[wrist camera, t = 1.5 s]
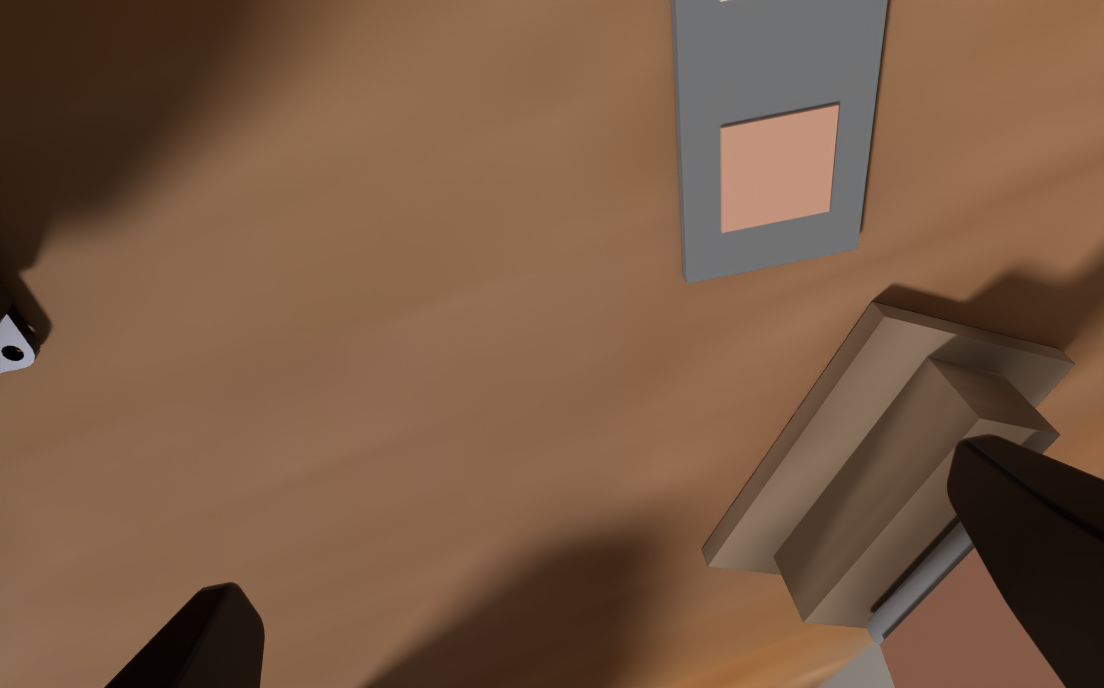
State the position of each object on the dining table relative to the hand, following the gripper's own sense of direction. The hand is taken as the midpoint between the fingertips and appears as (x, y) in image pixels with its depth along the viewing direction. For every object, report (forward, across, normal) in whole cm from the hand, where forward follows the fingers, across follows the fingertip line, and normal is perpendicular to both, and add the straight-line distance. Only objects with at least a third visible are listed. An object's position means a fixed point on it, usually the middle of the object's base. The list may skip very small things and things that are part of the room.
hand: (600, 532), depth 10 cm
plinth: (+12, +11, -15) cm, 23 cm away
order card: (+12, +6, +1) cm, 14 cm away
